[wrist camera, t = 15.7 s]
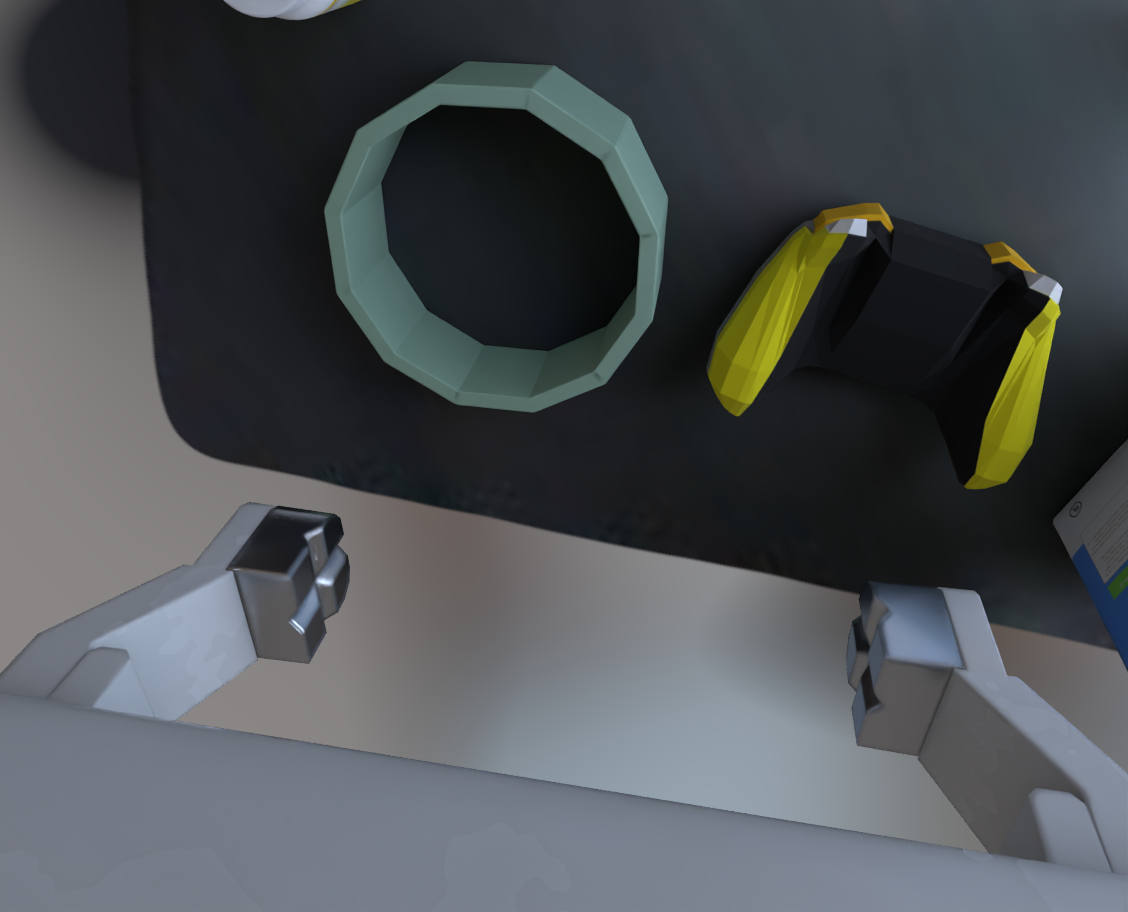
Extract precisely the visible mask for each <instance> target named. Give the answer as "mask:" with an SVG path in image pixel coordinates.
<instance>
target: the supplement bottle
mask: <svg viewBox="0 0 1128 912" xmlns="http://www.w3.org/2000/svg"><path fill="white" fill-rule="evenodd" d="M224 1H225V2H226V3H227V4H229V5H230V6H231V7H233V8H234V9H236V10H237V11H239V12H241V13H244V14H247V15H249V16H253V17H261V18H268V17H274V16H275V17H278V18H282V19H288V20H302V19H308V18H312V17H315V16H318V15H321V14H324V13H327V12H329V11H332V10H336V9H339V8H342V7H344V6H347V5H350V4H353V3H356V2H358V1H361V0H224Z"/></svg>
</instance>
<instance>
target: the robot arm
mask: <svg viewBox="0 0 1128 912" xmlns="http://www.w3.org/2000/svg"><path fill="white" fill-rule="evenodd" d="M343 535H344V533H343V528H342V523H341V519H340V517H338V516H337V515H335V514H331V513H324V512H317V511H311V510H304V509H297V508H290V507H284V506H272V505H266V504H259V503H252V502H249V503H246V504H244V505H242V506H241V507H239V509H238V510H237V511H236V512H235V514H234V515H233V516H232V517H231V519H230V520H229V521H228V522H227V523H226V525H225V526H224V527H223V529H222V530H221V531H220V532H219V533H218V535H217V536H216V537H215V538H214V540H213V541H212V542H211V543H210V544H209V546H208V547H207V548H206V549H205V551H204V552H203V553H202V554H201V555H200V557H199V558H198V559H197V560H196V562H195V563H194V564H193V565H192V566H189V565H182V566H180V567H178V568H176V569H173V570H171V571H169V572H167V573H165V574H163V575H161V576H159V577H157V578H154V579H152V580H150V581H148V582H146V583H144V584H142V585H140V586H138V587H136V588H133V589H131V590H129V591H127V592H125V593H123V594H121V595H119V596H117V597H114V598H113V599H110V600H108V601H107V602H104V603H102V604H100V605H98V606H96V607H93V608H91V609H89V610H87V611H85V612H83V613H81V614H79V615H77V616H75V617H72V618H70V619H68V620H66V621H64V622H62V623H60V624H58V625H56V626H54V627H52V628H49V629H47V630H45V631H43V632H41V633H39V634H37V635H36V636H35V638H34V639H33V640H32V641H31V642H30V643H29V644H28V645H27V646H26V647H25V648H24V649H23V650H22V652H20V653H19V654H18V655H17V656H16V658H15V659H14V660H13V661H12V662H11V663H10V664H9V665H8V666H7V667H6V668H5V669H4V670H3V671H2V672H1V674H0V912H1128V773H1126V772H1125V771H1124V770H1123V769H1122V768H1120V766H1118V765H1117V764H1116V763H1115V762H1114V761H1113V760H1112V759H1110V758H1109V757H1108V756H1107V755H1106V754H1105V753H1104V752H1102V751H1101V750H1100V749H1099V748H1098V747H1096V745H1094V744H1093V743H1092V742H1091V741H1090V740H1089V739H1087V738H1086V737H1085V736H1084V735H1083V734H1082V733H1081V732H1080V731H1078V730H1077V729H1076V728H1075V727H1074V726H1073V725H1071V724H1070V723H1069V722H1068V721H1067V720H1066V719H1065V718H1064V717H1062V716H1061V715H1060V714H1059V713H1058V712H1057V711H1056V710H1054V709H1053V708H1052V707H1051V706H1050V705H1049V704H1047V702H1045V701H1044V700H1043V699H1042V698H1041V697H1040V696H1039V695H1037V694H1036V693H1035V692H1034V691H1033V690H1032V689H1030V688H1029V687H1028V686H1027V685H1026V684H1025V683H1024V682H1023V681H1021V680H1020V679H1019V678H1018V677H1012V676H1007V674H1006V671H1005V669H1004V666H1003V663H1002V660H1001V657H1000V654H999V651H998V648H997V646H996V642H995V640H994V636H993V634H992V631H991V628H990V625H989V622H988V619H987V616H986V613H985V610H984V607H983V604H982V602H981V599H980V596H979V595H978V594H977V593H976V592H975V591H972V590H962V589H953V588H943V587H938V588H935V587H928V586H919V585H911V584H902V583H894V582H885V581H876V580H868V579H867V580H866V582H865V583H864V585H863V587H862V591H861V594H860V597H859V603H860V609H861V616H859V617H858V618H856V619H855V620H853V621H852V626H851V629H850V634H849V637H848V645H847V654H846V660H847V661H846V662H847V676H848V683H849V685H850V686H851V687H852V688H853V689H854V690H855V691H856V695H855V698H854V701H853V705H852V715H853V721H854V729H855V736H856V743H857V746H863V747H868V748H874V749H879V750H886V751H891V752H897V753H902V754H908V755H914V756H919V757H918V760H919V761H920V762H921V764H922V765H923V767H924V768H925V769H926V770H927V772H928V773H929V774H930V776H931V777H932V778H933V780H934V781H935V782H936V784H937V785H938V786H939V788H940V789H941V790H942V792H943V793H944V794H945V795H946V797H947V798H948V800H949V801H950V802H951V803H952V805H953V806H954V808H955V809H956V810H957V811H958V813H959V814H960V815H961V817H962V818H963V819H964V821H965V822H966V823H967V825H968V826H969V827H970V829H971V830H972V831H973V833H974V834H975V835H976V837H977V838H978V839H979V840H980V842H981V843H982V844H983V846H984V847H985V848H986V850H987V851H988V852H989V853H986V852H980V851H974V850H968V849H962V848H955V847H949V846H943V845H936V844H931V843H924V842H918V841H912V840H906V839H900V838H894V837H888V836H882V835H875V834H869V833H863V832H857V831H851V830H844V829H838V828H832V827H826V826H819V825H813V824H807V823H801V822H795V821H788V820H782V819H776V818H770V817H764V816H757V815H751V814H746V813H739V812H734V811H727V810H721V809H715V808H709V807H703V806H696V805H691V804H685V803H679V802H673V801H666V800H660V799H654V798H648V797H641V796H636V795H630V794H624V793H618V792H611V791H605V790H599V789H593V788H586V787H580V786H574V785H568V784H562V783H556V782H550V781H544V780H538V779H531V778H525V777H519V776H513V775H507V774H500V773H494V772H488V771H482V770H476V769H470V768H464V767H457V766H451V765H445V764H439V763H433V762H427V761H420V760H414V759H408V758H402V757H396V756H390V755H383V754H377V753H371V752H364V751H359V750H353V749H347V748H340V747H334V746H328V745H321V744H316V743H310V742H303V741H297V740H291V739H285V738H279V737H273V736H267V735H260V734H254V733H248V732H241V731H236V730H230V729H224V728H217V727H210V726H205V725H199V724H193V723H187V722H181V721H176V720H177V719H178V718H180V717H181V716H182V715H184V714H185V713H186V712H188V711H189V710H191V709H192V708H193V707H195V706H196V705H197V704H199V703H200V702H202V701H203V700H204V699H206V698H207V697H208V696H210V695H211V694H212V693H214V692H215V691H217V690H218V689H219V688H221V687H222V686H223V685H225V684H226V683H228V682H229V681H230V680H232V679H233V678H234V677H236V676H237V675H238V674H240V673H241V672H242V671H244V670H245V669H247V668H248V667H249V666H251V665H252V664H253V663H255V662H256V661H257V660H258V659H257V658H265V659H274V660H282V661H290V662H298V663H307V664H309V663H310V661H311V659H312V657H313V656H314V654H315V652H316V650H317V648H318V647H319V645H320V643H321V642H322V640H323V638H324V636H325V634H326V628H325V623H324V620H326V619H327V618H329V617H331V616H332V615H334V614H335V613H337V612H338V611H339V609H340V607H341V605H342V603H343V601H344V599H345V596H346V592H347V589H348V584H349V576H350V574H349V573H350V566H349V560H348V555H347V554H346V553H345V552H344V551H343V550H342V549H341V548H340V547H339V546H338V543H339V542H340V540H341V538H342V537H343Z"/></svg>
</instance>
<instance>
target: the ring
mask: <svg viewBox="0 0 1128 912" xmlns="http://www.w3.org/2000/svg"><path fill="white" fill-rule="evenodd" d="M439 105H453V106H472V107H491V108H509V109H526V110H527V111H529V112H530V113H532V114H533V115H535V116H536V117H538V118H539V119H541V120H542V121H544V122H545V123H547V124H548V125H550V126H551V127H553V128H554V129H556V130H557V131H559V132H560V133H562V134H563V135H564V136H566V137H567V138H569V139H570V140H572V141H573V142H575V143H576V144H578V145H579V146H581V147H582V148H584V149H585V150H587V151H588V152H590V153H591V154H593V155H594V156H596V157H597V158H599V159H600V160H601V161H602V163H603V165H604V167H605V169H606V171H607V173H608V175H609V177H610V179H611V181H612V183H613V185H614V187H615V189H616V191H617V193H618V195H619V197H620V199H621V201H622V203H623V204H624V206H625V208H626V210H627V212H628V214H629V216H630V218H631V220H632V222H633V224H634V226H635V228H636V230H637V232H638V234H639V236H640V241H639V257H638V272H637V285H636V286H635V288H634V289H633V290H632V292H631V293H630V295H629V296H628V297H627V299H626V300H625V302H624V303H623V304H622V306H621V307H620V309H619V310H618V311H617V313H616V314H615V316H614V317H613V318H612V320H611V321H610V323H609V324H608V325H607V326H606V327H604V328H601V329H599V330H597V331H594V332H592V333H590V334H587V335H585V336H583V337H581V338H578V339H576V340H574V341H571V342H569V343H567V344H564V345H562V346H560V347H557V348H555V349H553V350H550V351H540V350H530V349H519V348H508V347H498V346H487V345H483V344H481V343H479V342H478V341H476V340H474V339H473V338H471V337H470V336H468V335H466V334H465V333H463V332H461V331H460V330H458V329H456V328H455V327H453V326H452V325H450V324H448V323H447V322H445V321H443V320H442V319H440V318H438V317H437V316H435V315H434V314H432V313H430V312H429V311H427V310H426V308H425V307H424V305H423V304H422V302H421V300H420V299H419V297H418V296H417V294H416V293H415V291H414V290H413V288H412V287H411V285H410V284H409V282H408V281H407V279H406V278H405V276H404V274H403V273H402V271H401V270H400V268H399V267H398V265H397V264H396V262H395V261H394V259H393V258H392V256H391V255H390V253H389V251H388V242H387V233H386V223H385V214H384V205H383V196H382V187H381V182H382V179H383V177H384V175H385V173H386V171H387V168H388V166H389V164H390V162H391V160H392V157H393V155H394V153H395V151H396V149H397V146H398V144H399V142H400V140H401V138H402V135H403V133H404V131H405V129H406V127H407V124H409V123H411V122H412V121H414V120H416V119H417V118H419V117H420V116H422V115H424V114H425V113H427V112H429V111H430V110H432V109H434V108H435V107H437V106H439ZM667 205H668V197H667V194H666V192H665V190H664V188H663V186H662V184H661V182H660V180H659V177H658V175H657V173H656V171H655V169H654V167H653V165H652V163H651V161H650V159H649V157H648V154H647V152H646V150H645V148H644V146H643V144H642V142H641V140H640V138H639V136H638V133H637V131H636V129H635V127H634V125H633V123H632V121H631V119H630V118H629V116H627V115H626V114H624V113H623V112H621V111H620V110H619V109H617V108H616V107H614V106H613V105H611V104H610V103H608V102H607V101H605V100H604V99H603V98H601V97H600V96H598V95H597V94H595V93H594V92H592V91H591V90H589V89H588V88H587V87H585V86H584V85H582V84H581V83H579V82H578V81H576V80H575V79H573V78H572V77H571V76H569V75H568V74H566V73H565V72H563V71H562V70H560V69H559V68H557V67H556V66H553V65H535V64H513V63H491V62H470V61H466V62H464V63H463V64H461V65H459V66H458V67H456V68H455V69H453V70H451V71H450V72H448V73H447V74H445V75H443V76H442V77H440V78H439V79H437V80H435V81H434V82H432V83H431V84H429V85H427V86H426V87H424V88H423V89H421V90H419V91H418V92H416V93H415V94H413V95H411V96H410V97H408V98H407V99H405V100H403V101H402V102H400V103H399V104H397V105H395V106H394V107H392V108H391V109H389V110H388V111H386V112H384V113H383V114H381V115H380V116H378V117H377V118H375V119H374V120H372V121H370V122H369V123H367V124H366V125H364V126H363V127H361V128H360V129H358V130H357V132H356V133H355V136H354V138H353V141H352V143H351V145H350V148H349V150H348V153H347V155H346V157H345V160H344V162H343V165H342V167H341V169H340V172H339V174H338V177H337V179H336V181H335V184H334V186H333V189H332V191H331V193H330V196H329V198H328V201H327V203H326V205H325V209H324V214H325V220H326V227H327V233H328V240H329V247H330V253H331V260H332V266H333V273H334V280H335V286H336V293H337V295H338V296H339V298H340V299H341V301H342V302H343V304H344V305H345V306H346V308H347V309H348V311H349V312H350V314H351V315H352V316H353V318H354V319H355V321H356V322H357V324H358V325H359V326H360V328H361V329H362V331H363V332H364V334H365V335H366V336H367V338H368V339H369V341H370V342H371V344H372V345H373V346H374V348H375V349H376V351H377V352H378V354H379V355H380V356H381V358H382V359H383V361H384V362H386V363H387V364H389V365H390V366H392V367H394V368H395V369H397V370H399V371H400V372H402V373H404V374H405V375H407V376H409V377H411V378H412V379H414V380H416V381H417V382H419V383H421V384H422V385H424V386H426V387H427V388H429V389H431V390H432V391H434V392H436V393H437V394H439V395H441V396H442V397H444V398H446V399H447V400H449V401H451V402H453V403H454V404H456V405H465V406H475V407H485V408H494V409H504V410H514V411H523V412H533V413H534V412H537V411H539V410H542V409H544V408H547V407H549V406H552V405H554V404H557V403H559V402H562V401H564V400H567V399H569V398H572V397H574V396H576V395H579V394H581V393H584V392H586V391H589V390H591V389H594V388H596V387H599V386H601V385H604V384H606V382H607V381H608V380H609V378H610V377H611V376H612V374H613V373H614V372H615V370H616V369H617V368H618V366H619V365H620V364H621V362H622V361H623V360H624V358H625V357H626V356H627V354H628V353H629V352H630V350H631V349H632V348H633V346H634V345H635V344H636V342H637V341H638V340H639V338H640V337H641V336H642V334H643V333H644V332H645V330H646V329H647V328H648V326H649V325H650V324H651V322H652V320H653V316H654V311H655V306H656V301H657V297H658V292H659V287H660V282H661V277H662V266H663V254H664V242H665V230H666V218H667Z"/></svg>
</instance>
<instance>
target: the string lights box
mask: <svg viewBox="0 0 1128 912" xmlns="http://www.w3.org/2000/svg"><path fill="white" fill-rule="evenodd" d="M1053 525H1054V526H1055V528H1056V530H1057V531H1058V533H1059V535H1060V537H1061V539H1062V541H1063V543H1064V545H1065V547H1066V549H1067V551H1068V553H1069V555H1070V557H1071V559H1072V561H1073V563H1074V565H1075V567H1076V569H1077V570H1078V572H1079V574H1080V577H1081V579H1082V581H1083V583H1084V585H1085V587H1086V589H1087V591H1088V593H1089V595H1090V597H1091V599H1092V601H1093V603H1094V605H1095V607H1096V609H1097V611H1098V613H1099V615H1100V617H1101V619H1102V621H1103V623H1104V624H1105V626H1106V628H1107V630H1108V632H1109V634H1110V636H1111V638H1112V640H1113V642H1114V645H1115V647H1116V649H1117V651H1118V653H1119V655H1120V657H1121V659H1122V661H1123V663H1124V665H1125V667H1126V669H1127V671H1128V439H1127V440H1126V441H1125V442H1124V444H1123V445H1122V446H1121V447H1120V448H1119V449H1118V450H1117V451H1116V452H1115V453H1114V454H1113V455H1112V456H1111V457H1110V458H1109V460H1108V461H1107V462H1106V463H1105V464H1104V465H1103V466H1102V467H1101V468H1100V469H1099V470H1098V471H1097V472H1096V474H1095V475H1094V476H1093V477H1092V478H1091V479H1090V480H1089V481H1088V482H1087V483H1086V484H1085V486H1084V487H1083V488H1082V489H1081V490H1080V491H1079V492H1078V493H1077V494H1076V495H1075V496H1074V497H1073V499H1072V500H1071V501H1070V502H1069V503H1068V504H1067V505H1066V506H1065V507H1064V508H1063V509H1062V510H1061V511H1060V513H1059V514H1058V515H1057V516H1056V517H1055V518H1054V519H1053Z"/></svg>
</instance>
